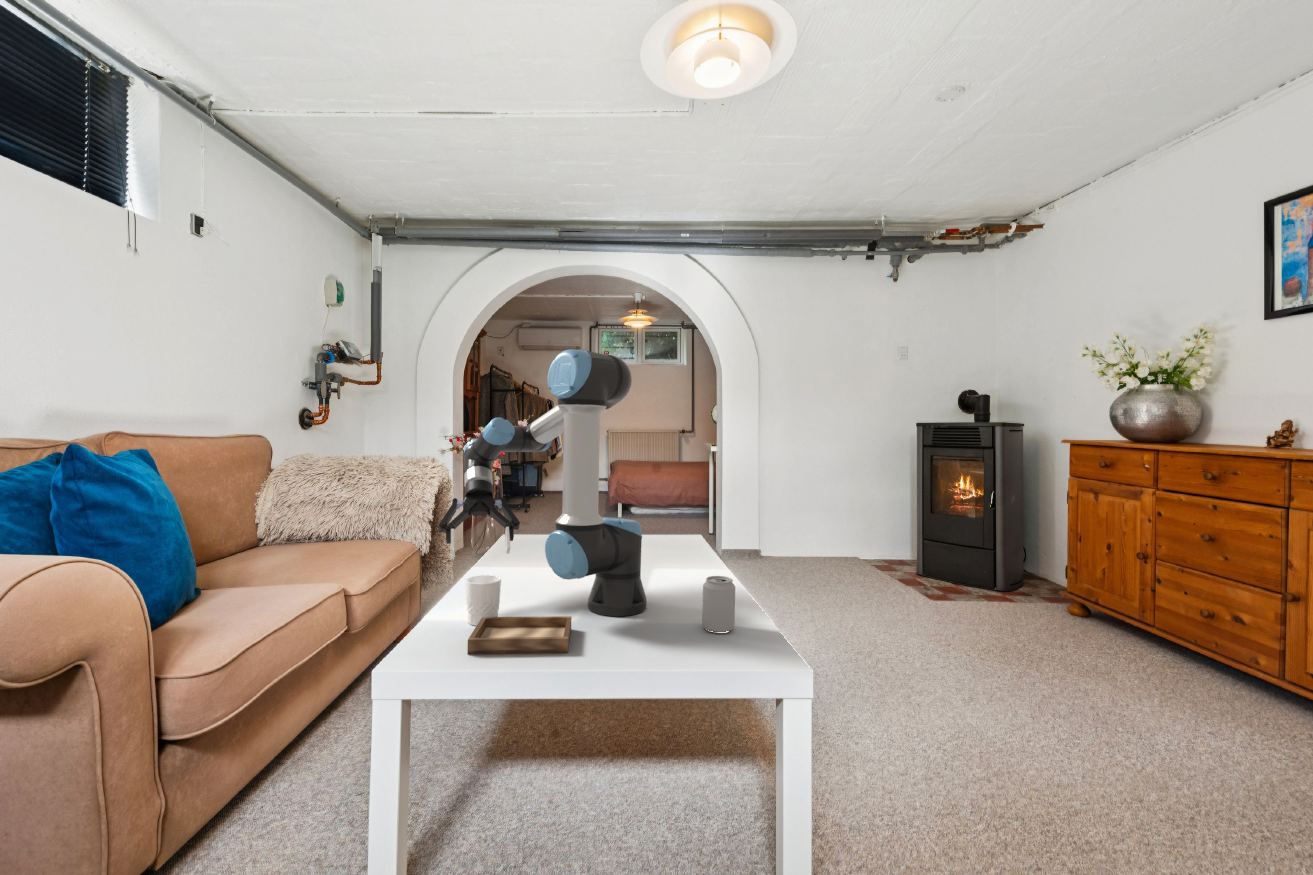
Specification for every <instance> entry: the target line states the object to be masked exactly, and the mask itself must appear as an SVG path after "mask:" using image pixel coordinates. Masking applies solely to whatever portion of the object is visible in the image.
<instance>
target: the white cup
mask: <svg viewBox="0 0 1313 875" xmlns="http://www.w3.org/2000/svg"><path fill="white" fill-rule="evenodd" d="M465 582H466V585H465V586H466V588H465V589H466V592H465V593H466V610H467V623H468V624H469V625H471V626H475V627H476V626H477V624H478V623H479V621H480V620H481V618H482V617H499V616H498V615H499V609H500V602H501V600H500V598H501V586H502V584H501V583H502V578H501V577H500V576H497V575H491V574H485V575H475V576H471V577H468V578H467V579H466V581H465Z"/></svg>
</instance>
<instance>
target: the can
mask: <svg viewBox="0 0 1313 875" xmlns="http://www.w3.org/2000/svg"><path fill="white" fill-rule="evenodd" d="M705 580H706V581H704V583H703V584H702V609H701V610H702V612H701V613H702V614H701V615H702V617H701V622H702V623H701V626H702V627H703V629H705V630H706V629H707V630H709V631H713V632H726V631H730V630H731V631H732V630H733V629H734V628H735V621H736V620H735V619H736V618H735V616H736V615H735V614H736V585H735V584H734V583H733V581H734V579H733V578H731V577H729V576H726V575H725V576H724V575H712V576H707V577H706V578H705ZM731 631H730V632H731Z"/></svg>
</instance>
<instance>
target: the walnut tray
mask: <svg viewBox="0 0 1313 875" xmlns="http://www.w3.org/2000/svg"><path fill="white" fill-rule="evenodd" d="M572 619H573V618H572V615H571V616H569V615H567V616H565V615H564V616H557V615H555V616H498V617H482V618H481V620H480V621H479V623H478V624H477V626H475V628H474V629H473V631H472V632H471V634H470V635H469V637H468V638H467V654H469V655H522V654H523V655H527V654H529V655H530V654H535V655H536V654H538V655H539V654H540V655H541V654H568V652H569V646H570V639H571V634H572Z"/></svg>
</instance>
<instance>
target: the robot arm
mask: <svg viewBox="0 0 1313 875" xmlns="http://www.w3.org/2000/svg"><path fill="white" fill-rule="evenodd" d="M547 372H548V373H547V386H548V389H549V390H550V393H551V394H552V395H553V396H555V398H557V405H555V406H554V407H552V408H551V409H550V410H548V411H547V412H545V413H544V414H543V415H541V416H539V417H538V418H537V419H535V420H534V421H532V422H531V423H529V424H528V425H525V426H524V425H513V424H512V422H511V421H510V420H507V419H504V418H503V417H494V418H492V419H491V420H490V422H488V424H487V425H485V427H483V430H482V431H481V433H480V434H479V435H478V437H477V438H473V439H471V440H470V441H468V442H467V443H466V444H465V445H464V452H463V468H464V469H463V471H464V485H463V486H464V499H463V500H458V498H456V497H455V498H454V497H453V499H452V503H451V505H450V507H449V508H448V510H447V511H446V513H445V515H444V516H443V518H442V519H441V520H440V522H439V524H438V532H439V533H444V534H445V543H446V544H447V545H448V544H450V557H454V556H455V530H456V529H457V528H458V527H459V526H460V525H461V524H462V523H463V522H464V521H465V520H466V519H468V518H469V517H471V516H473V517H479V516H480V517H486V516H488V517H489V518H491V519H493V520H495V522H497V523H498V524H499V525H500V526H501V527H503V529H505V532H504V535H505V536H504V537H505V549H506V552H505V553H506V554H510V553H511V542H513V541H514V537H515V535H514V531H515V530H516V531H518V530H519V529H520V524H521V522H520V520H519V519H518V517H517V516H516V515H515V514H514V512H513V511H512V509H511V507H510V506H509V505H508V504H507V499H506V497H504V496H503V497H501V498H500V499H495V498H494V486H493V484H494V483H493V463H494V462H495V460H497V458H498V457H499V456H500V454H501V453H519V452H520V453H526V452H527V453H539V452H545V451H547V450H548V449H549V448H550V446H551V445H552V441H553V440H554V439H556V438H558V437H559V436H561V435H562V434H563V447H562V449H563V450H562V451H563V452H562V453H563V454H562V456H563V457H562V508H561V510H562V513H561V515H560V516H559V517H557V519H555V530H554V531H552V532H551V533H550V534H549V535H548V536H547V538H546V540H545V543H544V554H545V555H544V556H545V559H546V561H547V563H548V566H549V568H551V570H552V572H553V573H554V574H555V575H556V576H557V577H558V578H561V579H563V580H575V579H577V580H579V579H583V578H585V577H590V576H592V575H595V578H594V581H593V584H592V587H591V590H590V592H589V595H588V601H587V602H588V603H587V609H588V610H589V611H590V612H592V613H594V614H596V615H602V616H607V617H627V616H634V615H639V614H641V613H643V612H645V611H646V610H645V609H647V608H646V607H647V604H648V603H647V602H648V601H647V596H646V593H645V588H644V585H643V582H642V579H641V574H642V573H641V570H642V569H641V567H642V540H643V535H642V525H641V523H640V522H639V521H637V520H634V519H628V518H627V519H626V518H619V517H611V516H610V517H609V516H607V517H606V516H601V515H600V514H599V500H600V499H599V495H600V494H599V492H600V491H599V489H600V484H599V483H600V429H601V427H600V426H601V424H600V423H601V414H602V413H603V412H604V411H605V410H609V409H610V408H613V407H614V406H616V405H617V404H618V403H620V402H622V400H624V399H625V397H626V396H627V395H628V393H629V392H630V390H631V387H632V380H633V379H632V373H631V370H630V368H629V366H628V365H627V363H626V362H625V361H624V360H623V359H621V358H619V357H618V356H616V355H612V354H605V353H600V352H595V351H590V350H585V349H573V348H572V349H565V350H563V351H560V353H559V354H557V355H556V357H555V359H553V360H552V362H551V363H550V366H549V369H548V371H547ZM495 506H497V507H498V508H499V509H501V512H502V513H501V512H500V511H498V509H497V508H496V507H495ZM461 507H463V510H462V511H461V512H459V514H457V515H456V512H457V510H459V509H460V508H461ZM454 515H456V516H455V517H454ZM453 517H454V519H452V518H453ZM644 610H645V611H644Z"/></svg>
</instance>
